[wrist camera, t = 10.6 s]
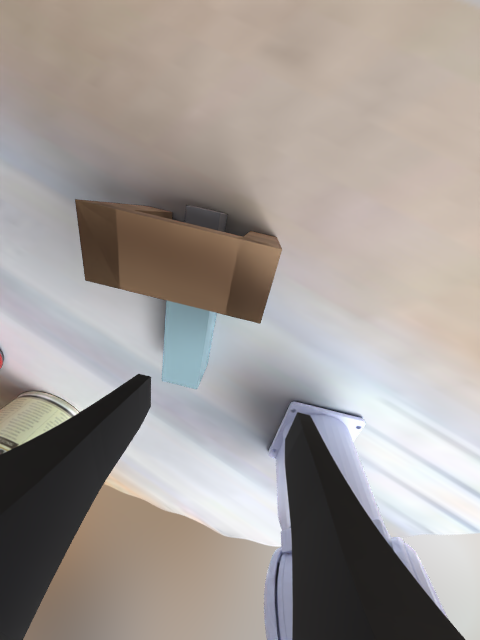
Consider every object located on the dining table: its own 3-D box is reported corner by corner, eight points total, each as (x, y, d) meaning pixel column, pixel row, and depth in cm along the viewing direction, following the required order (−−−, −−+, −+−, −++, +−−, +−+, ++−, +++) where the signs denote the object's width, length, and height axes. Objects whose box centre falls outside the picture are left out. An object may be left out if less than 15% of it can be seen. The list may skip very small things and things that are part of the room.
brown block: (262, 287, 18) (260, 323, 12) (146, 259, 18) (85, 280, 12) (276, 237, 16) (282, 249, 10) (146, 205, 16) (75, 199, 10)
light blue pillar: (207, 364, 22) (197, 389, 19) (177, 356, 22) (161, 380, 19) (234, 215, 15) (225, 215, 12) (191, 205, 16) (172, 202, 12)
